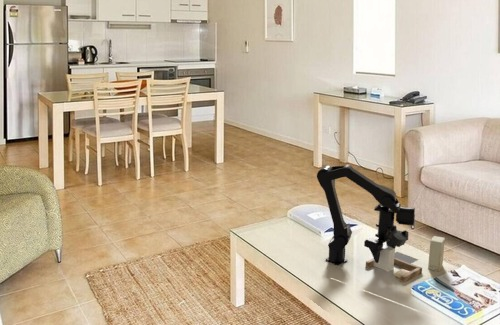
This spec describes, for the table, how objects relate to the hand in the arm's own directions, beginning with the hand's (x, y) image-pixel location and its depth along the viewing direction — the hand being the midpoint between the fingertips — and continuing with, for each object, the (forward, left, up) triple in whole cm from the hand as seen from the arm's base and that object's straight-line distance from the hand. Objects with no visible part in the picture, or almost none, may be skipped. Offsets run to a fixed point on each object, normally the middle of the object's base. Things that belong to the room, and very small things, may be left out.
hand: (383, 259), depth 199 cm
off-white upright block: (0, 0, -4) cm, 4 cm away
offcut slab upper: (0, -9, -3) cm, 10 cm away
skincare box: (+16, -13, -4) cm, 21 cm away
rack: (+1, -4, -4) cm, 5 cm away
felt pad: (+13, 0, -4) cm, 13 cm away
